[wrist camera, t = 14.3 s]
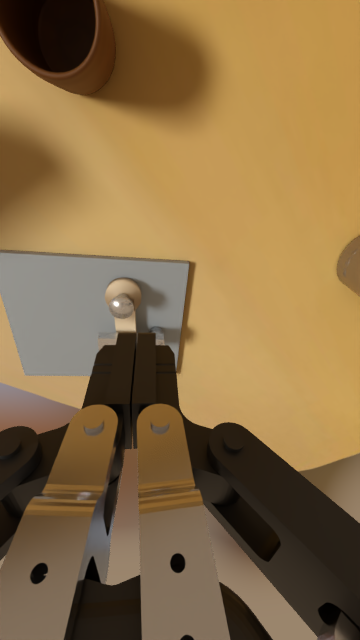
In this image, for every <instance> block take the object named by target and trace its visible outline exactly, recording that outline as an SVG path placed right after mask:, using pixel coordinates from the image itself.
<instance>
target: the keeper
mask: <svg viewBox="0 0 360 640" xmlns="http://www.w3.org/2000/svg"><path fill="white" fill-rule="evenodd" d="M109 311H110V313H111V314H112V315H113V316H114V317H116V318H119V319H125V318H128V317H130V316H131V315H132V313H133V311H134V304H133V302H132V301H131V300H130V299H129V296H128V295H127V294H124V293H121V294H119V295H118V296H117V297H115V298H113V299H112V300H111V302H110V304H109ZM149 333H156V345H164V331H163V329H162V328H161V327H159V326H154V327H152V328H150V330H149ZM117 336H118V333H113V332H99V335H98V348H99V350H100V349H101V348H102V347H103V346H104V345H116V341H117ZM137 337H138V333H137Z"/></svg>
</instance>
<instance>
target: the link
mask: <svg viewBox="0 0 360 640" xmlns="http://www.w3.org/2000/svg"><path fill="white" fill-rule="evenodd" d="M121 293H124V294H127V295H128V296H129V299H130V300H131V301H132V302H133V304H134V311H133V313H132V315H131V316H130V317H128V318H125V319H119V318H116V317H114V319H115V328H116V333H118V332H127V333H137V327H136V309H137V308H138V307H139V305H140V303H141V289H140V287H139V285H138V284H137V283H136V282H135V281H133V280H132V279H129V278H124V277H122V278H116V279H114V280H112V281H111V282H110V283H109V285H108V286H107V289H106V293H105V301H106V303H107V305H108V306H109V304H110V302H111V300H112V299H113V298H115V297H117V296H118V295H119V294H121Z"/></svg>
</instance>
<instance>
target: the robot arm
mask: <svg viewBox="0 0 360 640" xmlns="http://www.w3.org/2000/svg"><path fill="white" fill-rule="evenodd" d="M337 274H338V277H339V279H340V281H341V282H342V283H343V284H345V285H346V286H347V287H348V288H350V289H351V290H352V291H354V292H355V293H356V294H357V295H358V296H360V236H358V237H357V238H355V239H354V240H353V241H352V242H351V243H350V244H349V245H348V246H347V247H346V248H345V250H344V251H343V252H342V254H341V256H340V258H339V261H338V265H337ZM132 436H133V446H134V449H135V448H137V454H138V495H139V496H138V497H139V539H140V575H139V576H136V577H134V578H131V579H129V580H127V581H124V582H122V583H120V584H117V585H113V586H111V585H106V580H107V573H108V566H109V557H110V541H111V533H112V529H113V523H114V517H115V511H116V505H117V500H118V494H119V488H120V482H121V476H122V468H123V462H124V461H123V460H124V452H125V449H131V448H132ZM203 504H204V505H205V506H206V508H207V509H208V510H209V511H210V512H211V513H212V515H213V516H214V517H215V518H216V519H217V520H218V522H219V523H220V524H221V525H222V526H223V527H224V529H226V531H227V532H228V533H229V534H230V536H231V537H232V538H233V539H234V540H235V541H236V542H237V544H238V545H239V546H240V547H241V548H242V550H243V551H244V552H245V553H246V554H247V555H248V557H249V558H250V559H251V560H252V561H253V562H254V563H255V565H256V566H257V567H258V568H259V569H260V570H261V572H262V573H263V574H264V575H265V576H266V577H267V579H268V580H269V581H270V582H271V583H272V584H273V586H274V587H275V588H276V589H277V590H278V591H279V593H280V594H281V595H282V596H283V597H284V598H285V600H286V601H287V602H288V603H289V604H290V605H291V607H292V608H293V609H294V610H295V611H296V612H297V614H298V615H299V616H300V617H301V618H302V619H303V621H304V622H305V623H306V624H307V625H308V626H309V628H310V629H311V630H312V631H313V632H314V633H315V634H316V636H317V637H318V639H317V640H360V523H358V522H357V521H356V520H355V519H354V518H353V517H351V516H350V515H349V514H348V513H347V512H345V511H344V510H343V509H342V508H341V507H339V506H338V505H337V504H336V503H335V502H333V501H332V500H331V499H330V498H329V497H327V496H326V495H325V494H324V493H323V492H321V491H320V490H319V489H318V488H316V487H315V486H314V485H313V484H311V482H309V481H308V480H307V479H306V478H305V477H303V476H302V475H301V474H300V473H299V472H297V471H296V470H295V469H294V468H293V467H291V466H290V465H289V464H288V463H287V462H285V461H284V460H283V459H282V458H281V457H279V456H278V455H277V454H276V453H275V452H273V451H272V450H271V449H270V448H269V447H268V446H266V445H265V444H264V443H263V442H262V441H260V440H259V439H258V438H257V437H256V436H254V435H253V434H252V433H251V432H250V431H248V430H247V429H246V428H244V427H243V426H241V425H238V424H236V423H229V422H228V423H221V424H219V425H217V426H216V427H214V428H213V429H210V428H207V427H203V426H200V425H197V424H194V423H192V422H191V421H189V420H188V419H187V418H186V417H185V416H184V415H183V414H182V412H181V410H180V407H179V399H178V388H177V376H176V366H175V354H174V352H173V351H172V350H171V348H170V347H169V345H156V333H138V337H137V333H127V332H118V336H117V341H116V345H104V346H103V347H102V348H101V349H100V350H99V352H98V353H97V354H96V358H95V362H94V366H93V369H92V374H91V377H90V380H89V384H88V388H87V391H86V395H85V399H84V403H83V406H82V409H81V410H80V411H79V412H77V413H76V414H75V416H73V418H72V419H71V421H70V423H68V424H66V425H65V426H63V427H61V428H58V429H55V430H51V431H48V432H45V433H41V434H38V435H37V434H36V432H35V431H34V430H32V429H31V428H29V427H24V426H17V427H12V428H8V429H6V430H4V431H1V432H0V560H1V559H2V558H3V557H4V556H5V555H6V557H5V559H4V562H3V564H2V567H1V569H0V640H273V639H272V638H271V637H270V635H269V634H268V632H267V631H266V630H265V628H264V627H263V626H262V624H261V623H260V622H259V620H258V619H257V617H256V616H255V615H254V613H253V612H252V611H251V609H250V608H249V607H248V606H247V605H246V604H245V603H244V601H243V600H242V599H241V598H240V597H239V596H238V595H237V594H235V593H234V592H233V591H232V590H231V589H229V588H228V587H227V586H225V585H224V584H222V583H221V582H219V580H218V575H217V570H216V565H215V560H214V555H213V550H212V545H211V540H210V535H209V530H208V525H207V520H206V515H205V510H204V505H203Z"/></svg>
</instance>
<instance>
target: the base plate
mask: <svg viewBox="0 0 360 640" xmlns="http://www.w3.org/2000/svg"><path fill="white" fill-rule="evenodd" d="M188 270H189V261H179V260H162V259H146V258H129V257H112V256H96V255H79V254H63V253H46V252H29V251H13V250H0V293H1V297H2V300H3V303H4V307H5V310H6V313H7V317H8V320H9V323H10V327H11V330H12V333H13V337H14V340H15V343H16V347H17V350H18V353H19V357H20V360H21V363H22V367H23V370H24V373H25V375H29V376H91V374H92V369H93V366H94V362H95V358H96V354H97V353H98V352H99V348H98V335H99V332H113V333H116V328H115V319H114V316H113V315H112V314H111V313H110V311H109V306H108V305H107V303H106V301H105V293H106V289H107V286H108V285H109V283H110V282H111V281H112V280H114V279H116V278H122V277H124V278H129V279H132V280H133V281H135V282H136V283H137V284H138V285H139V287H140V289H141V303H140V305H139V307H138V308H137V309H136V327H137V333H149V330H150V328H152V327H154V326H159V327H161V328H162V329H163V331H164V345H169V347H170V348H171V350H172V351H173V352H174V354H175V366H176V368H177V360H178V351H179V343H180V335H181V327H182V319H183V311H184V302H185V294H186V286H187V278H188Z"/></svg>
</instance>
